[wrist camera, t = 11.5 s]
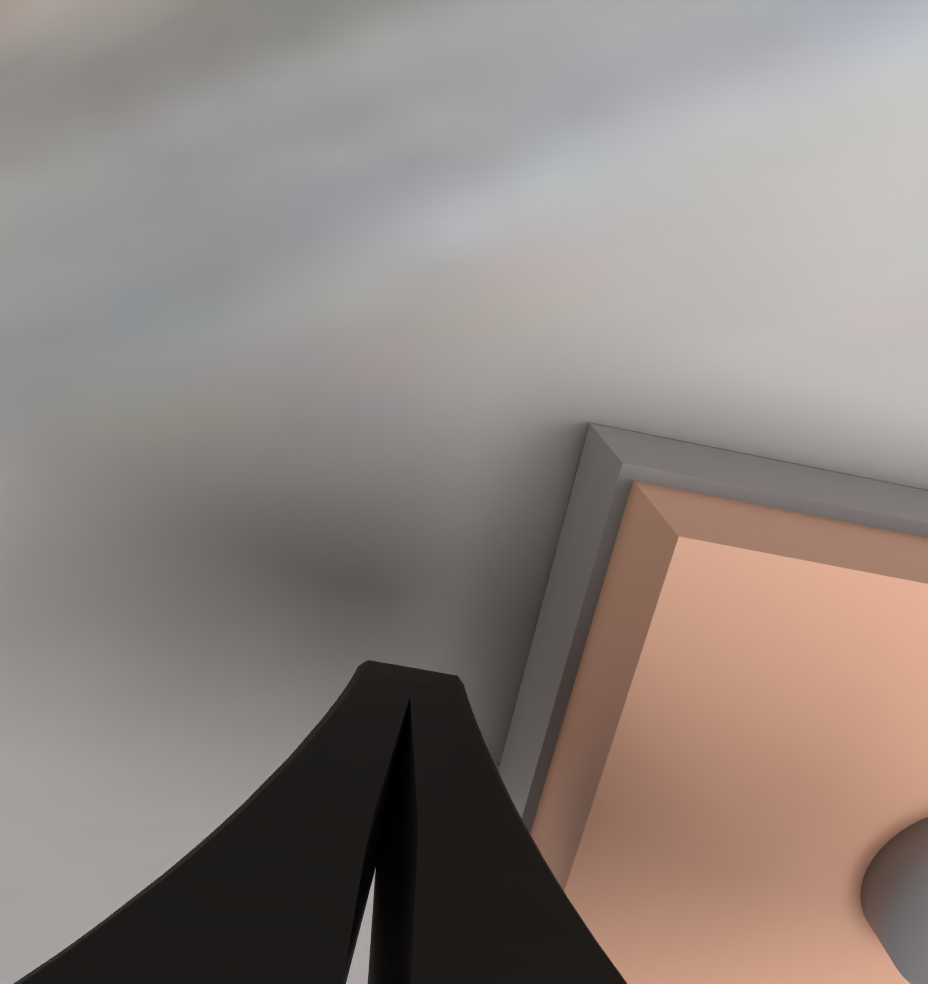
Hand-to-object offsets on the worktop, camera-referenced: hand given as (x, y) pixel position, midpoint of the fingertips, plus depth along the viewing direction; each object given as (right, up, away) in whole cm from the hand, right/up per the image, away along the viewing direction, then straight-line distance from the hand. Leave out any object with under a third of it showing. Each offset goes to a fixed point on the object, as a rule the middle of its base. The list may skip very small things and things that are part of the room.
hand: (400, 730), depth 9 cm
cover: (+7, -1, +1) cm, 7 cm away
